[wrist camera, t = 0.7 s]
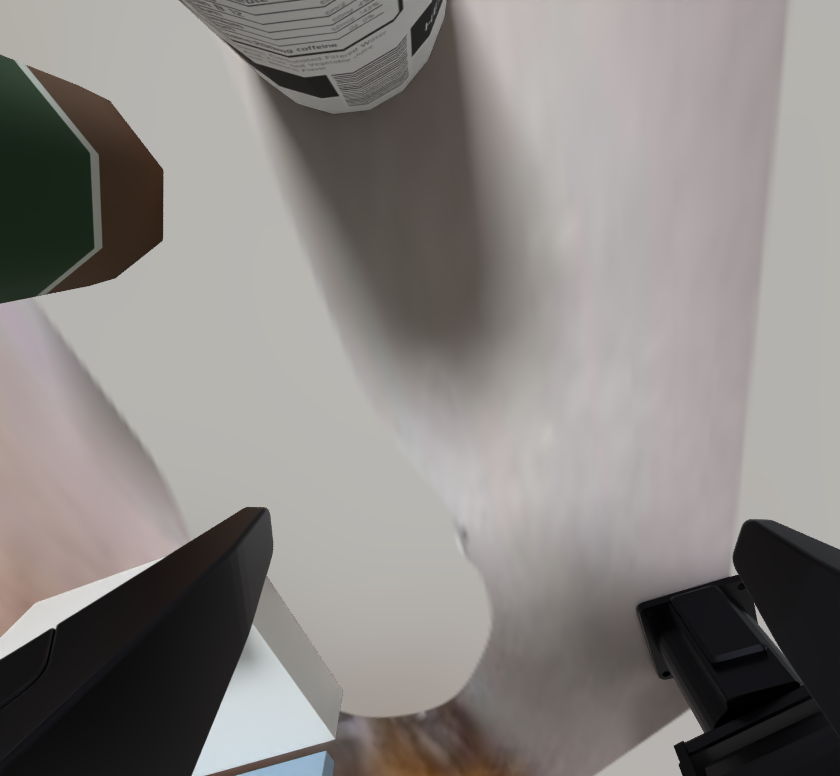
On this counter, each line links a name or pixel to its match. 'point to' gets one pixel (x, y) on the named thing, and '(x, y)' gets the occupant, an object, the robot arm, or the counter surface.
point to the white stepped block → (234, 679)
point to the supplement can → (328, 45)
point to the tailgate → (299, 767)
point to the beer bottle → (69, 187)
